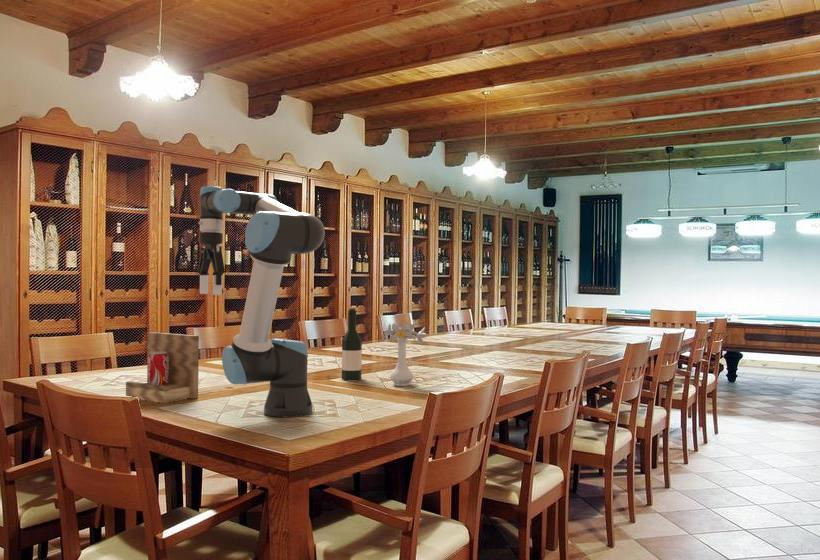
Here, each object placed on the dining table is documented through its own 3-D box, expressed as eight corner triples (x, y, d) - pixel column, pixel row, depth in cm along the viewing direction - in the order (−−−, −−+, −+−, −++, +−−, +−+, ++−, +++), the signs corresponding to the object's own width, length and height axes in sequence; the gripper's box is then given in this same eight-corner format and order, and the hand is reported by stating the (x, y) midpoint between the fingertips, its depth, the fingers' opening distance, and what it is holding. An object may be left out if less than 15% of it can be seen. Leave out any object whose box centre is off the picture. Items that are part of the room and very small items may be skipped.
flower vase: (430, 385, 257) (431, 323, 257) (392, 389, 246) (393, 324, 246) (411, 380, 267) (412, 321, 267) (374, 384, 257) (375, 322, 257)
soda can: (161, 388, 220) (161, 353, 220) (142, 387, 221) (143, 353, 221) (172, 385, 227) (173, 351, 227) (154, 384, 228) (155, 350, 228)
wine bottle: (365, 378, 271) (366, 308, 271) (353, 381, 264) (354, 309, 264) (349, 377, 275) (350, 307, 275) (337, 379, 268) (338, 308, 268)
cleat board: (198, 398, 224) (198, 335, 224) (169, 404, 213) (169, 338, 213) (151, 391, 236) (152, 332, 235) (122, 397, 225) (122, 334, 225)
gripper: (188, 233, 225) (188, 293, 225) (212, 229, 205) (212, 295, 205) (209, 234, 230) (209, 293, 230) (235, 230, 209) (234, 295, 210)
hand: (210, 294), depth 217 cm, fingers open, 13 cm apart
